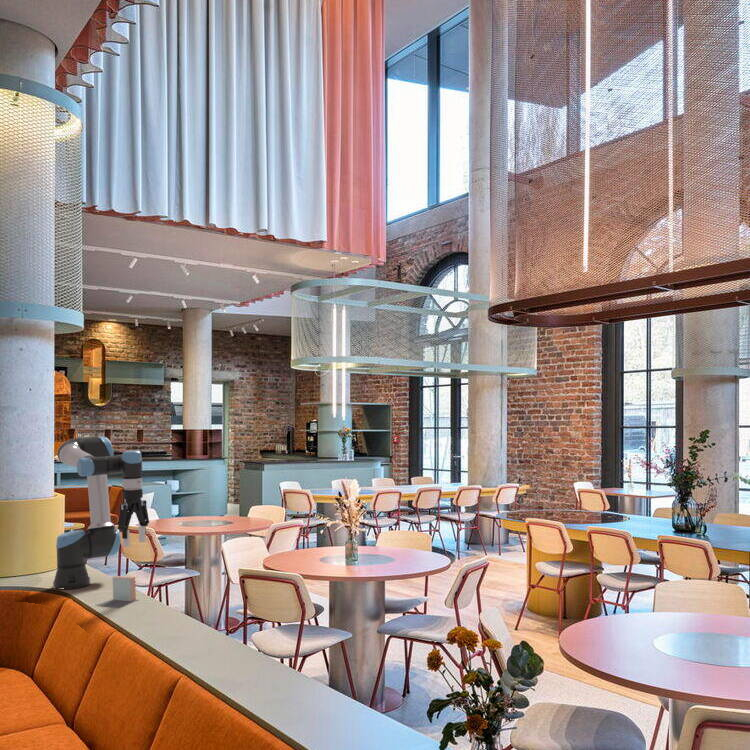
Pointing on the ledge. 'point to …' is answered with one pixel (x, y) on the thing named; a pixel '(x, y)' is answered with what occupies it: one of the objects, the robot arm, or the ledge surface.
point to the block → (124, 588)
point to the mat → (115, 603)
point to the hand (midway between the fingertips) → (134, 544)
